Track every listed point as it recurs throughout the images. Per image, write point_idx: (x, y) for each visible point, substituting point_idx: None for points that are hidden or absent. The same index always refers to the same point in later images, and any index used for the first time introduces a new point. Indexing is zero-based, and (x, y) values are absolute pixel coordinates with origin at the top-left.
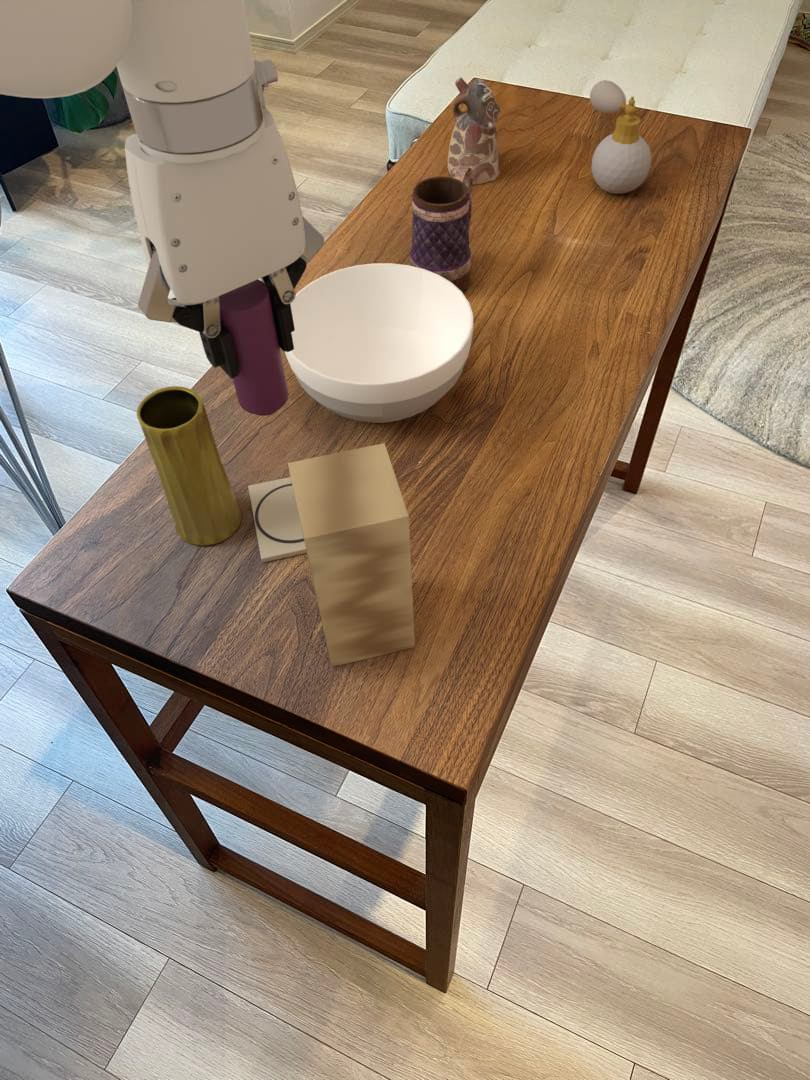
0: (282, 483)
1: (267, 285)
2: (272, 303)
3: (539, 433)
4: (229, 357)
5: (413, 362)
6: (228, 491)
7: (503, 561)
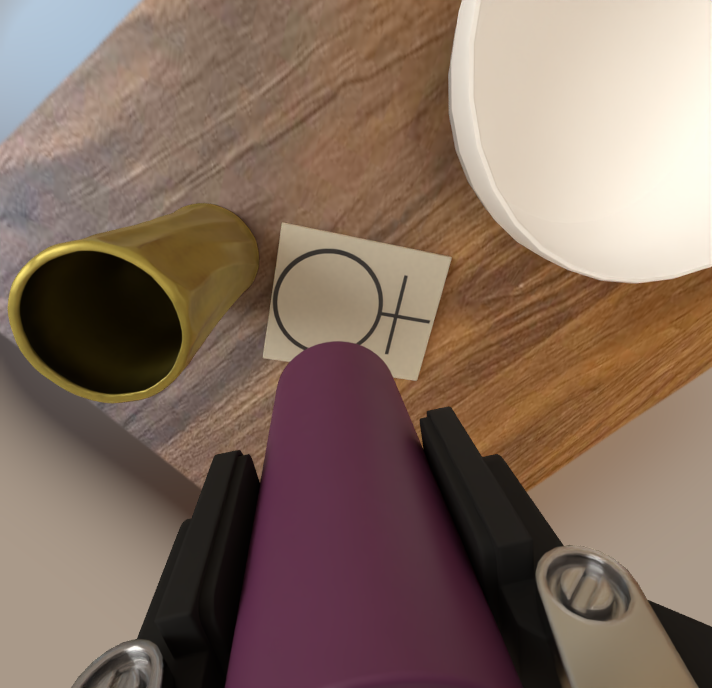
0: (332, 243)
1: (547, 659)
2: (500, 627)
3: (677, 309)
4: None
5: (651, 71)
6: (238, 297)
7: (510, 455)
